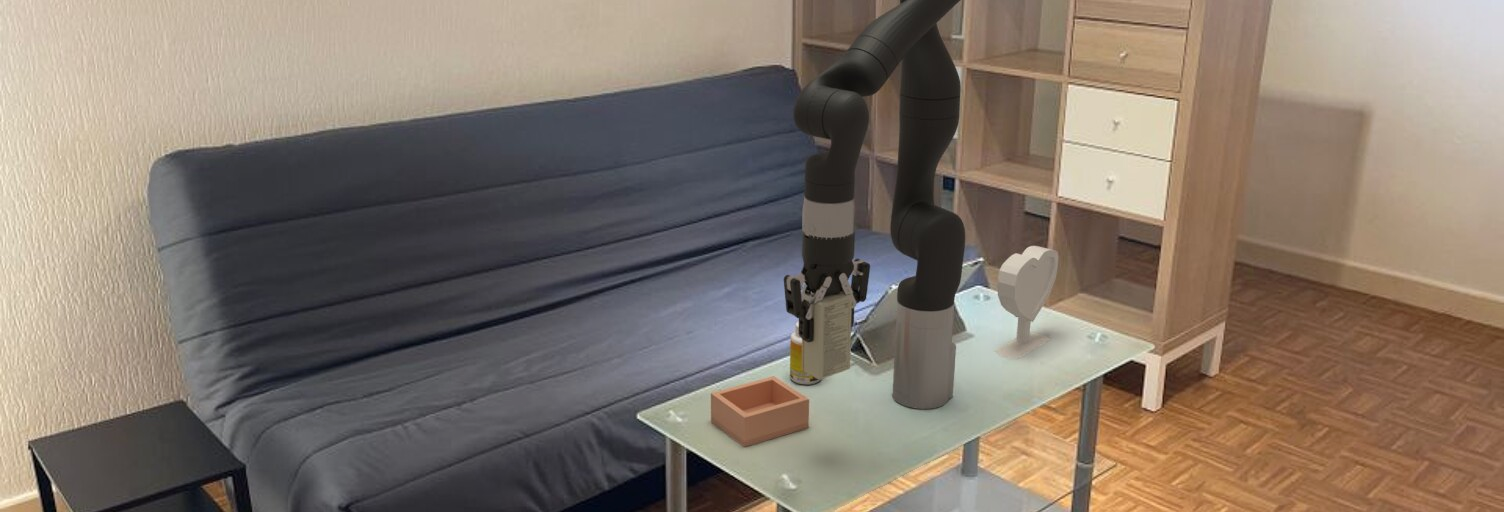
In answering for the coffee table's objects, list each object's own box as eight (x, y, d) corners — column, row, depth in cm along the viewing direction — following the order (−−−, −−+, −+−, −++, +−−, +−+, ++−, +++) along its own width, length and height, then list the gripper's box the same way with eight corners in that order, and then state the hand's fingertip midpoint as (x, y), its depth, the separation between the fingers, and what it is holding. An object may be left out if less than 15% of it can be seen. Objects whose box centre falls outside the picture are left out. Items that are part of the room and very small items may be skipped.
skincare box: (832, 360, 187) (833, 285, 183) (851, 370, 184) (853, 293, 180) (799, 370, 184) (800, 294, 180) (819, 381, 180) (820, 303, 176)
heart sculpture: (1012, 362, 220) (1020, 266, 214) (988, 354, 223) (995, 260, 217) (1055, 336, 231) (1063, 245, 225) (1031, 329, 234) (1039, 239, 228)
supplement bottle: (815, 388, 210) (816, 332, 206) (784, 382, 212) (785, 327, 208) (826, 375, 215) (828, 320, 211) (796, 369, 217) (797, 315, 213)
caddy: (773, 403, 204) (773, 376, 202) (808, 427, 196) (809, 399, 195) (710, 421, 198) (710, 393, 196) (744, 447, 190) (744, 417, 188)
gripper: (853, 212, 183) (850, 316, 189) (771, 228, 176) (771, 337, 181) (884, 225, 177) (880, 333, 183) (802, 243, 170) (800, 355, 175)
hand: (826, 334), depth 182 cm, fingers closed on skincare box, 6 cm apart
